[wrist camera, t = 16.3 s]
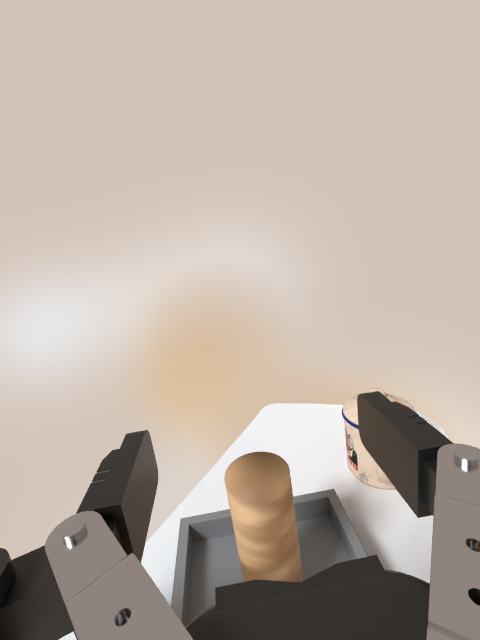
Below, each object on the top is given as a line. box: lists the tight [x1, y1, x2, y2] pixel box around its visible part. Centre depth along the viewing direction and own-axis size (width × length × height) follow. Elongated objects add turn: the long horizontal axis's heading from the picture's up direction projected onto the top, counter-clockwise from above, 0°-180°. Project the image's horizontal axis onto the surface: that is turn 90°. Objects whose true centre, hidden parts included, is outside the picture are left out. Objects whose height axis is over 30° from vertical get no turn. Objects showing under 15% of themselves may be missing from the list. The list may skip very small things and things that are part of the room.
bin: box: [171, 489, 368, 627], centre depth 29 cm, size 18×18×4 cm
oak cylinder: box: [225, 452, 304, 582], centre depth 27 cm, size 5×5×14 cm
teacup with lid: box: [342, 388, 415, 489], centre depth 42 cm, size 12×9×12 cm
